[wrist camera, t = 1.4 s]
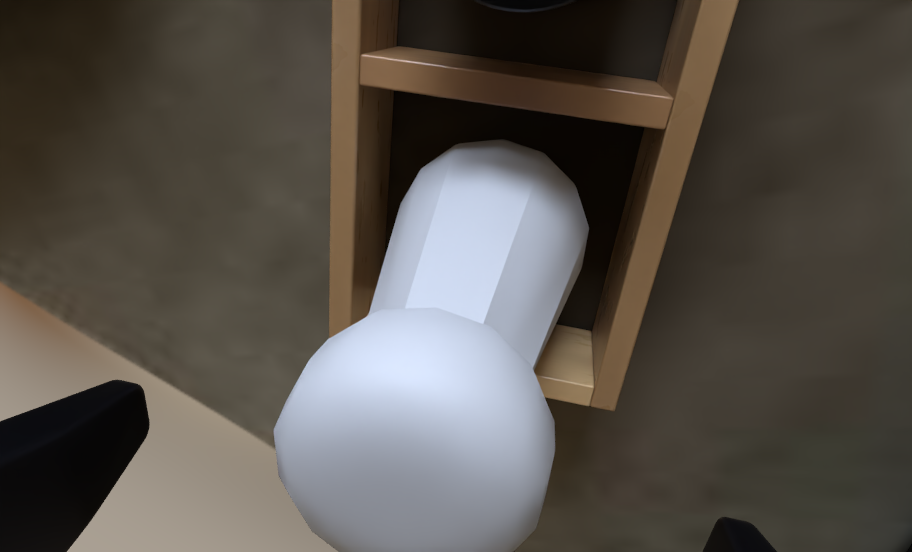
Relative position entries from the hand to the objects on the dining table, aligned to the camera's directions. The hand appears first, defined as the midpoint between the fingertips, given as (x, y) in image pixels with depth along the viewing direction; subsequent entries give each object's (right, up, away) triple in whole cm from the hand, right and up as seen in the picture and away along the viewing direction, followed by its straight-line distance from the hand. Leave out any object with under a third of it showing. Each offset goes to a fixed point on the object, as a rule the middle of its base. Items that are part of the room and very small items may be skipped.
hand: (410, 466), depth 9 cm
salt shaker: (+2, +5, +11) cm, 12 cm away
